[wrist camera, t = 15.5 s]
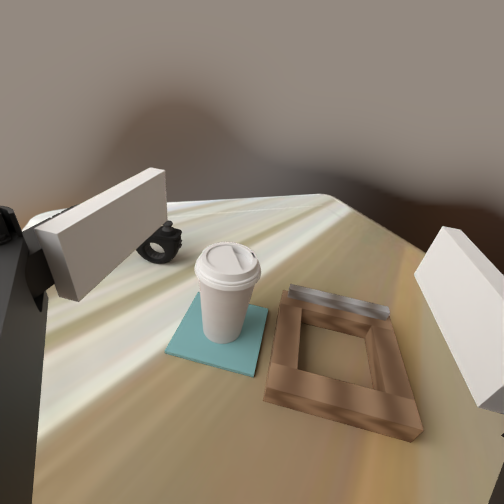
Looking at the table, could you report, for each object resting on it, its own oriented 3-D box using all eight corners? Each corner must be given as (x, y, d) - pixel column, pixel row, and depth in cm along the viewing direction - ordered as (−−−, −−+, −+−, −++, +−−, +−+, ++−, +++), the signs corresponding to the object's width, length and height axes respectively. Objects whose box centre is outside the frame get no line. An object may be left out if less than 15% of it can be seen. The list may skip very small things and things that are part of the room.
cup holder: (381, 327, 52) (393, 307, 49) (410, 442, 36) (431, 422, 33) (279, 302, 54) (285, 281, 51) (263, 400, 38) (269, 378, 35)
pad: (267, 311, 52) (268, 308, 52) (253, 377, 40) (253, 375, 40) (198, 293, 53) (198, 291, 53) (165, 353, 42) (164, 350, 41)
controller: (178, 270, 58) (177, 230, 53) (122, 260, 59) (115, 219, 53) (184, 258, 62) (184, 220, 56) (131, 249, 62) (126, 210, 57)
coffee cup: (247, 356, 42) (261, 283, 34) (186, 347, 42) (186, 272, 34) (252, 311, 50) (264, 244, 42) (201, 304, 50) (203, 234, 42)
